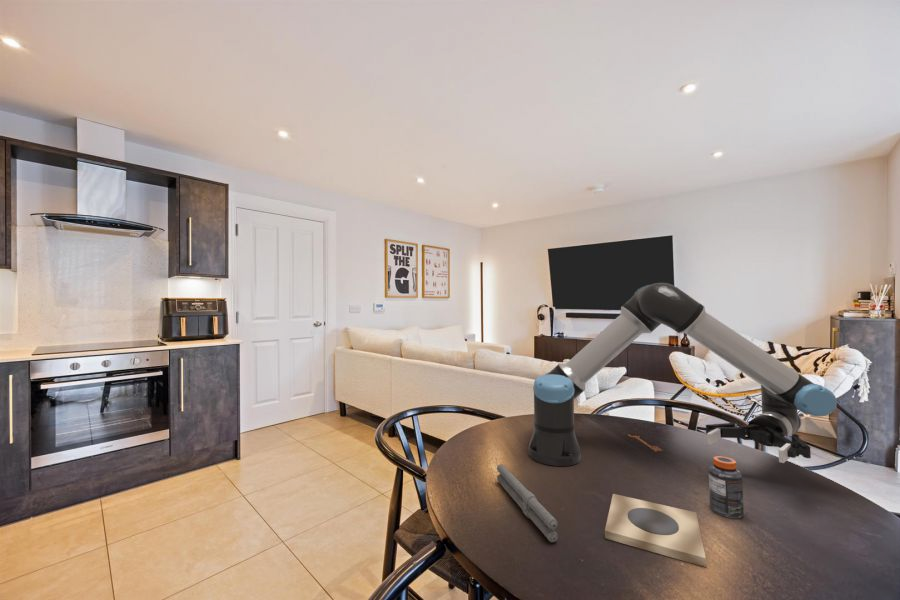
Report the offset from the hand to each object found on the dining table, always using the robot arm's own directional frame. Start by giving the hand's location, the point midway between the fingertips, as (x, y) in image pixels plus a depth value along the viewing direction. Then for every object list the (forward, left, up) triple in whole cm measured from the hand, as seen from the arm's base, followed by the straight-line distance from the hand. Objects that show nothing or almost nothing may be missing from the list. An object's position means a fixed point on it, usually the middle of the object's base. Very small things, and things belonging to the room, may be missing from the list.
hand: (742, 447), depth 85 cm
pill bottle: (-5, -9, -12) cm, 16 cm away
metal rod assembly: (-44, -29, -12) cm, 54 cm away
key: (-21, +29, -12) cm, 38 cm away
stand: (-19, -24, -12) cm, 32 cm away
